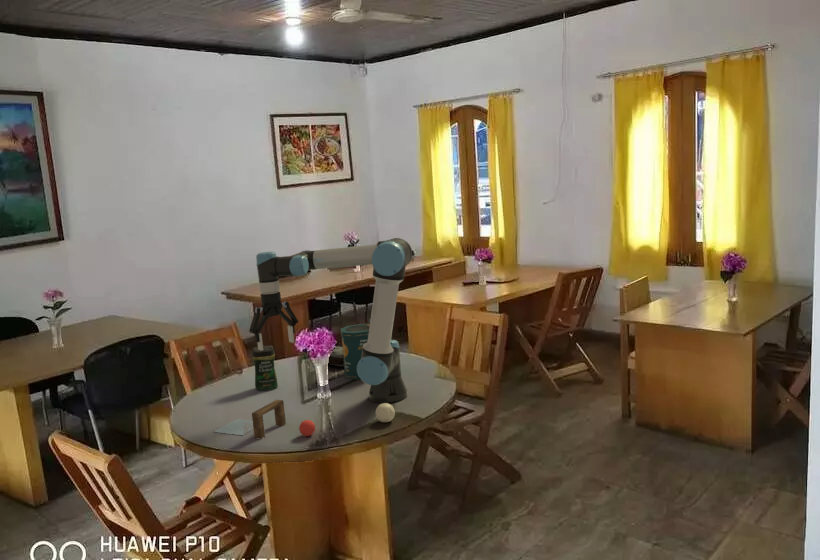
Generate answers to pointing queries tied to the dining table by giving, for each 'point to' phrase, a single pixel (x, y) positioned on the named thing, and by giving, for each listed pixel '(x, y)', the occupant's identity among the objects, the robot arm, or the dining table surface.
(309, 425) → the ball
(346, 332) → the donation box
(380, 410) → the baseball
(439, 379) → the dining table surface
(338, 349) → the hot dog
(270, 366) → the coffee jar
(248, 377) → the dining table surface
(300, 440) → the dining table surface
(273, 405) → the bridge
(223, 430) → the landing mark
